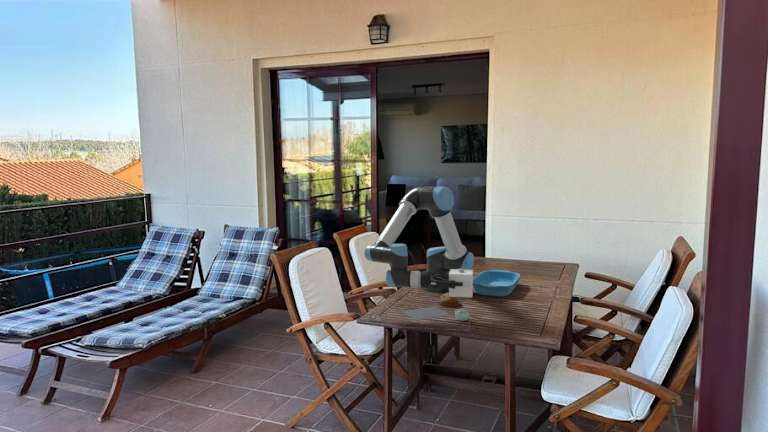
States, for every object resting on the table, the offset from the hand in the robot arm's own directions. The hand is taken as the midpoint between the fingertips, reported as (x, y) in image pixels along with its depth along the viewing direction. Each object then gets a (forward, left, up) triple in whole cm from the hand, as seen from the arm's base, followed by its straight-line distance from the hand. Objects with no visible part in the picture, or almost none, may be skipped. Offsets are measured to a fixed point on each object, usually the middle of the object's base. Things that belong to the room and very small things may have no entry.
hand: (471, 281), depth 224 cm
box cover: (+3, -2, -6) cm, 7 cm away
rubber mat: (+13, -17, -18) cm, 28 cm away
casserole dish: (-43, -39, -18) cm, 61 cm away
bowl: (+3, -2, -18) cm, 18 cm away
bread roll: (-4, -25, -18) cm, 31 cm away
